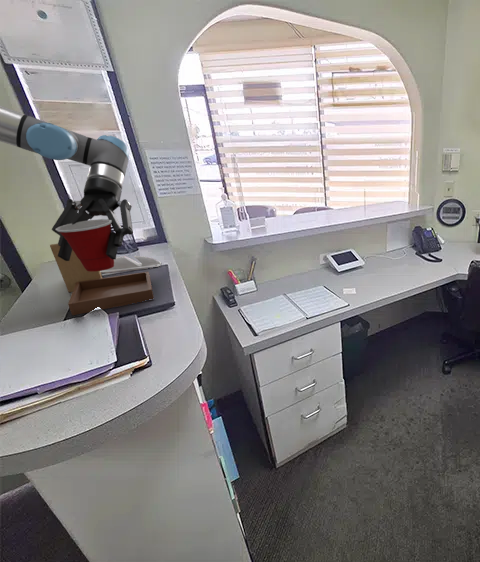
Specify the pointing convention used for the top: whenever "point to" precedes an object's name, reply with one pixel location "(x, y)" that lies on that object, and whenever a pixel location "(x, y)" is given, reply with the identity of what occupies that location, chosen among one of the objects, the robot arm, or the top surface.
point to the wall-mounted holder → (132, 264)
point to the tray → (110, 292)
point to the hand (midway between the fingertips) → (87, 257)
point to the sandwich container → (73, 269)
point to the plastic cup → (89, 242)
